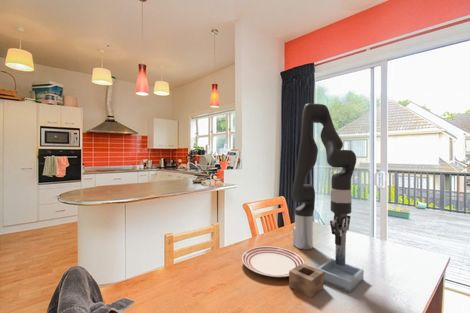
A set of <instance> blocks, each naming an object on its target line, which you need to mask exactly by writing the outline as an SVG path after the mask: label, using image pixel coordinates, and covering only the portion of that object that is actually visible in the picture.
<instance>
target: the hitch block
mask: <svg viewBox="0 0 470 313" xmlns="http://www.w3.org/2000/svg"><path fill="white" fill-rule="evenodd" d="M324 283H325V282H324V272H323V271H320V270H318V269H317V268H315V267H313V266H310V265H308V264H306V263H305V264H303V263H302V264H300V265H298V266H297V267H295V268H293V269H292V270H290V271H289V276H288V284H289V285H288V287H289V288H291V289H293V290H294V291H296V292H299V293H301V294H302V295H305V296H306V297H309V299H311V298H313V297H315V295H316V294H318V293H319V292H321V290H323V289H324V285H325V284H324Z"/></svg>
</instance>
